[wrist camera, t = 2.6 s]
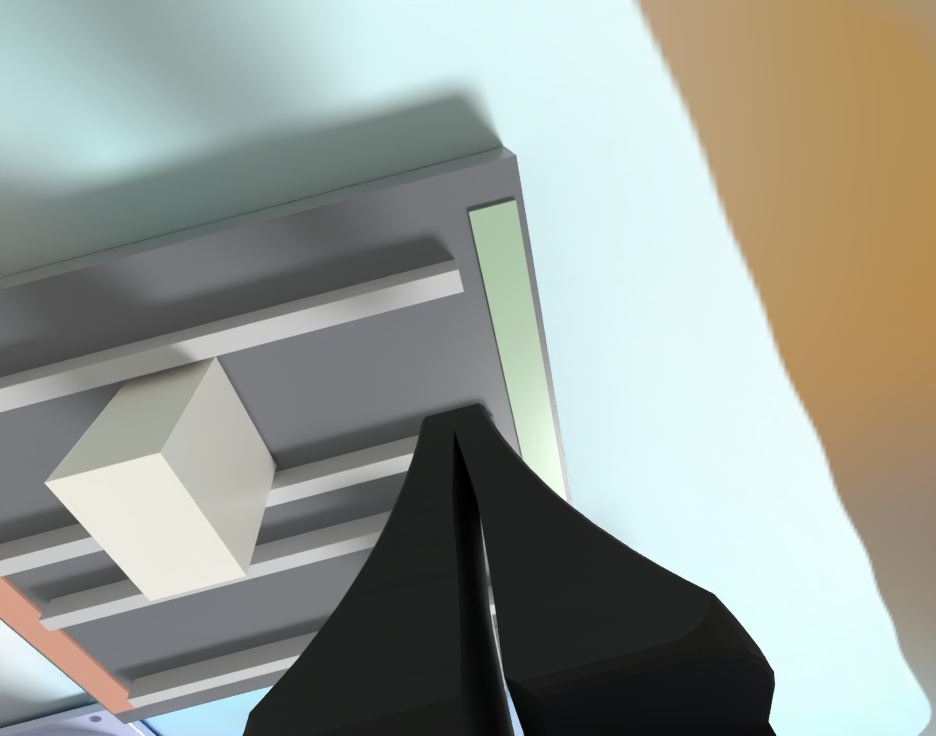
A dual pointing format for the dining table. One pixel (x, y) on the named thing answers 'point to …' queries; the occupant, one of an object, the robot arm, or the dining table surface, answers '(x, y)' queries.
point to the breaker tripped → (171, 480)
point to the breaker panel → (267, 409)
